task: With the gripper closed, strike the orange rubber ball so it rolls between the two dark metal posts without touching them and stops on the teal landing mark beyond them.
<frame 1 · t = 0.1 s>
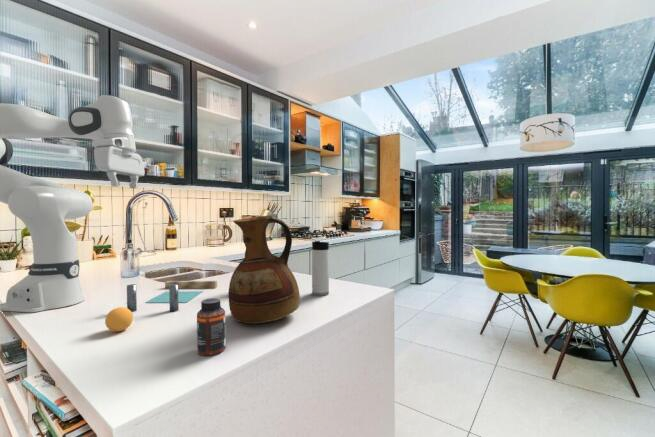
hand: (125, 187, 103), 39 cm above the counter, tool pointing down, fingers open, 8 cm apart
landing mark: (175, 297, 112), on the counter
ceramic pitcher: (265, 318, 90), on the counter
stopper wall: (191, 287, 125), on the counter
ball: (119, 319, 81), on the counter
supplement bottle: (211, 351, 69), on the counter
travel mug: (320, 294, 116), on the counter
left post: (131, 310, 97), on the counter
right post: (174, 310, 97), on the counter
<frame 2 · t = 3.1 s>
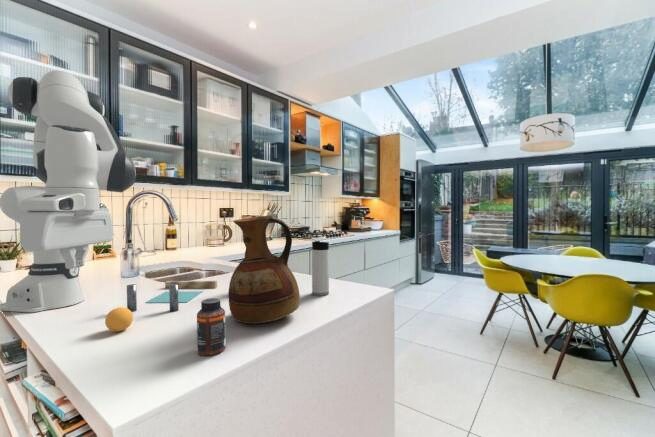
hand: (75, 267, 66), 19 cm above the counter, tool pointing down, fingers closed
nothing on the counter moved.
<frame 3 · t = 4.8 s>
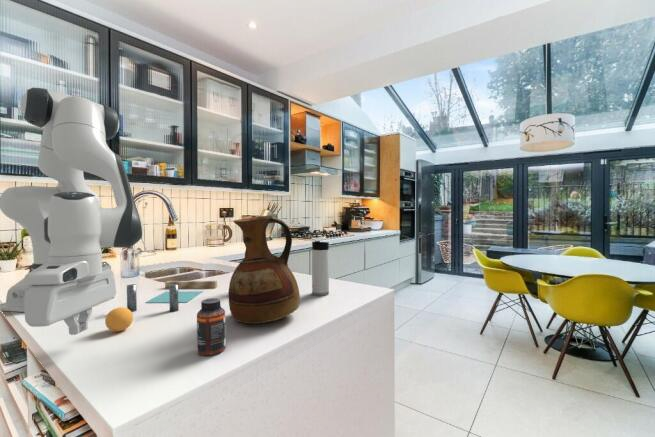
hand: (78, 332, 66), 5 cm above the counter, tool pointing down, fingers closed
nothing on the counter moved.
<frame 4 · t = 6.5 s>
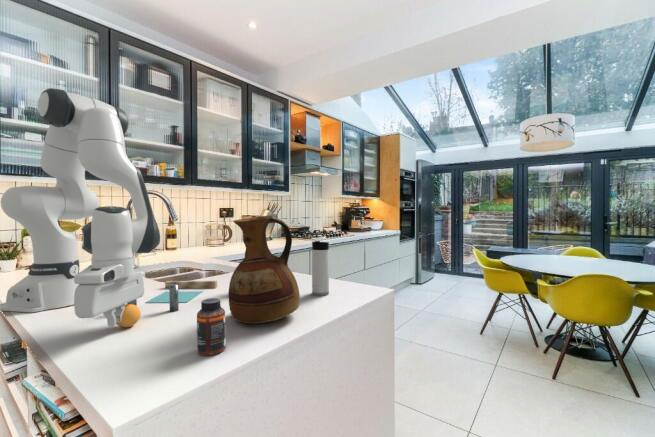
hand: (114, 324, 79), 2 cm above the counter, tool pointing down, fingers closed
ball: (127, 315, 83), on the counter, touching gripper
everything else where it was.
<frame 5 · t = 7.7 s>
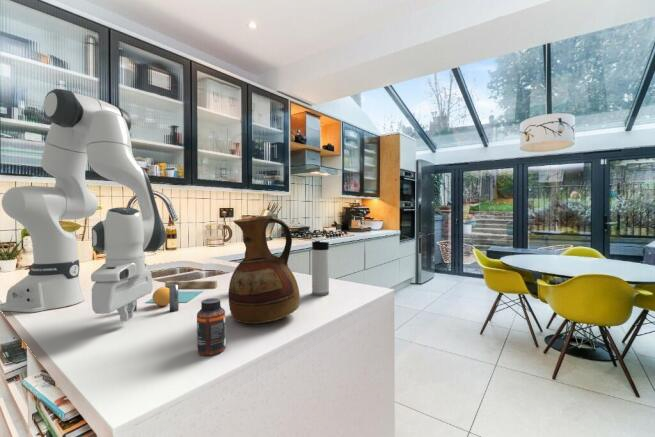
hand: (126, 319, 84), 2 cm above the counter, tool pointing down, fingers closed
ball: (163, 296, 102), on the counter
everything else where it was.
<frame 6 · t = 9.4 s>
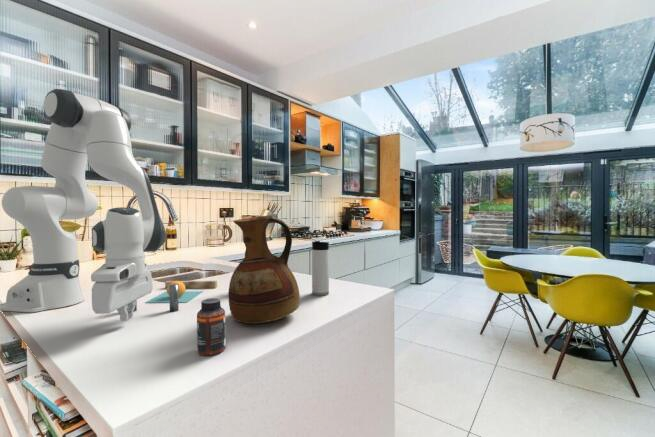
hand: (126, 319, 84), 2 cm above the counter, tool pointing down, fingers closed
ball: (176, 289, 111), on the counter
everything else where it was.
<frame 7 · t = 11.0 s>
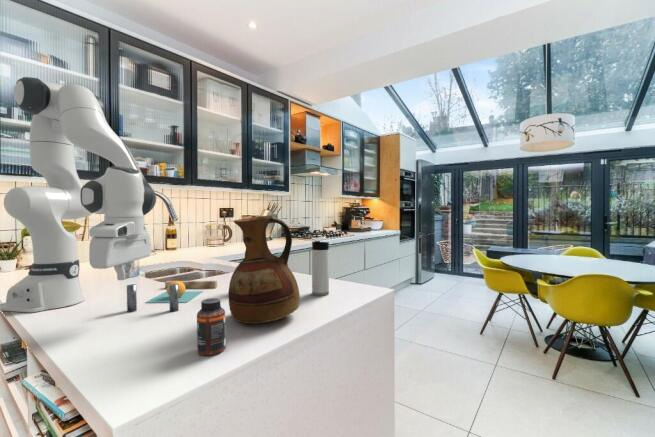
hand: (124, 279, 83), 13 cm above the counter, tool pointing down, fingers closed
nothing on the counter moved.
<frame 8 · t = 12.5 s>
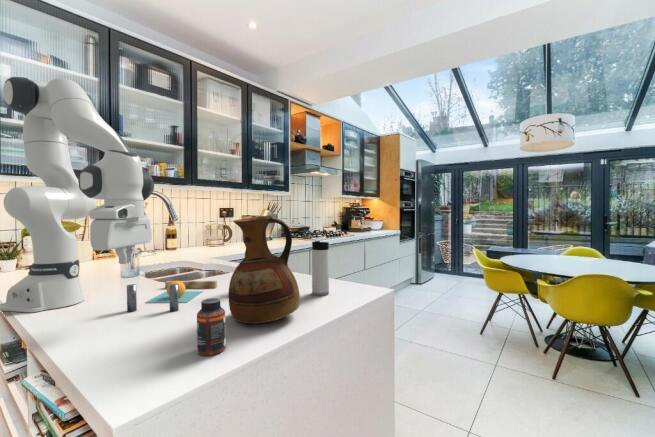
hand: (125, 263, 83), 17 cm above the counter, tool pointing down, fingers closed
nothing on the counter moved.
at the end: ball 1.1 cm from the landing mark (horizontally); ball never touched left post; ball never touched right post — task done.
